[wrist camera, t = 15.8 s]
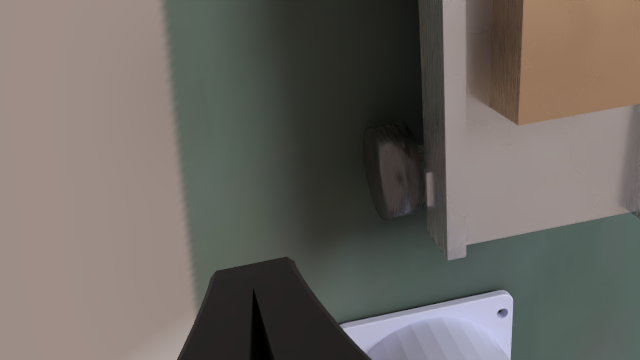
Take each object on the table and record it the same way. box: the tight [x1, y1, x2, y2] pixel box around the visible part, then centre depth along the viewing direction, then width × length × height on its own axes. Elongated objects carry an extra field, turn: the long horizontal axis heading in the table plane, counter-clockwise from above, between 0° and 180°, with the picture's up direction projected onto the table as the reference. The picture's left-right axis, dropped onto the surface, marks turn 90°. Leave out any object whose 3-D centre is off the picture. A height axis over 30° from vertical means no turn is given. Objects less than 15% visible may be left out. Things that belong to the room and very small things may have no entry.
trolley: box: [364, 0, 640, 260], centre depth 16 cm, size 12×10×6 cm
